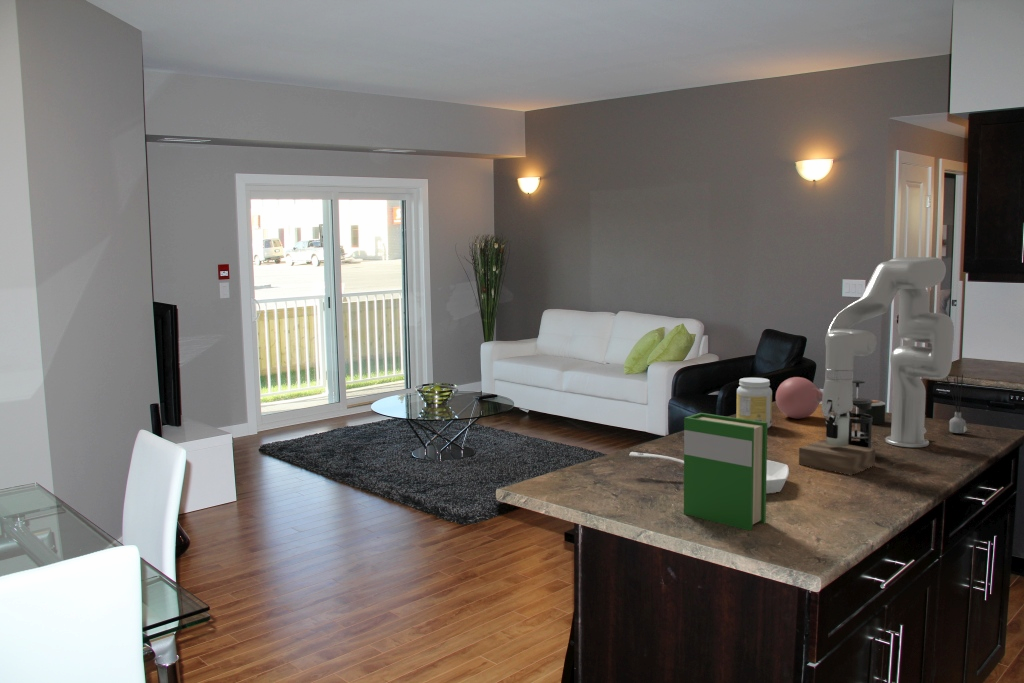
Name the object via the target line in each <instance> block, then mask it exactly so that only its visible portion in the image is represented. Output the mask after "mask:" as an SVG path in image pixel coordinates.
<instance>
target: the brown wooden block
mask: <svg viewBox="0 0 1024 683" xmlns="http://www.w3.org/2000/svg"><path fill="white" fill-rule="evenodd" d="M799 464H801V465H800V466H803V465H806V466H805V467H808V466H811V467H810V468H813V467H815V468H814V469H818V468H820V469H819V470H823V469H825V470H824V471H827V470H830V471H829V472H832V471H836V472H835V473H837V472H841V473H840V474H842V473H845V474H844V475H846V474H850V475H849V476H853V475H852V474H854V475H856V474H859V473H861V472H863V471H862V470H864V471H865V469H866V470H868V469H871V468H873V467H875V464H876V449H875V448H872V447H871V448H866V447H860V446H855V445H849V444H848V446H844V447H836V446H830V445H827V444H826V439H822V440H819V441H816V442H813V443H809V444H807V445H803V446H801V447H799V448H798V465H799ZM872 466H873V467H872ZM870 467H871V468H870ZM867 468H868V469H867ZM860 471H861V472H860ZM858 472H859V473H858ZM855 473H856V474H855Z"/></svg>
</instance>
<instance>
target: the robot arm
mask: <svg viewBox="0 0 1024 683" xmlns="http://www.w3.org/2000/svg"><path fill="white" fill-rule="evenodd" d="M946 272H947V267H946V264H945V262H944V261H943V259H941V258H939V257H933V256H932V257H931V256H930V257H929V256H928V257H926V256H922V257H921V256H899V257H894V258H892V259H889V260H887V261H883V262H880V263H879V264H877V266H876V267H875V268H874V271H873V273H872V275H871V277H870V278H869V281H868V282H867V284H866V285H865V289H864V290H863V292H862V294H861V296H860V298H858V299H857V300H855V301H854V302H852V303H850V304H849V305H847V306H846V307H844V308H843V309H842V310H841V311H839V312H838V313H837V314H836V315H835V316H834V318H833V320H832V321H831V323H830V325H829V327H828V329H827V332H826V335H825V338H824V339H825V340H824V342H825V343H824V345H825V373H824V374H825V375H824V378H825V379H824V384H823V389H822V390H823V391H822V392H823V397H822V401H821V413H822V416H823V417H824V421H825V424H826V426H825V427H826V428H825V431H826V432H825V436H826V437H829V438H834V439H836V438H838V425H836V424H837V419H838V415H841V416H847V417H849V421H850V419H851V417H850V414H851V413H852V410H853V409H854V407H853V406H854V405H853V398H854V390H853V383H852V381H853V380H854V363H855V360H854V359H855V356H856V357H859V356H860V357H867V356H869V355H871V354H873V353H874V352H875V351H876V349H877V347H878V340H877V339H878V338H877V337H876V335H875V334H874V333H872V332H871V331H868V330H865V329H854V328H853V329H852V327H853V326H855V325H857V324H859V323H861V322H864V321H866V320H870V319H873V318H876V317H878V316H881V315H884V314H885V313H887V312H888V311H889V309H890V307H891V306H892V303H893V301H894V299H895V297H896V295H897V293H898V296H899V297H898V298H899V306H898V307H899V308H898V322H897V332H898V336H899V338H900V339H901V340H903V341H905V342H913V343H923V344H924V343H925V344H931V347H928V346H927V347H925V346H918V345H916V346H915V345H900V346H898V347H896V348H894V350H892V352H891V354H890V356H889V357H890V360H889V361H890V362H889V363H890V367H891V368H890V369H891V375H892V398H891V400H892V402H891V424H890V425H891V426H890V427H891V429H890V430H891V431H890V435H888V436H886V437H885V443H887V444H889V445H892V446H896V447H902V448H924V447H925V448H926V447H928V446H929V444H930V441H929V440H928V439H927V438H925V434H926V433H927V429H926V427H925V419H926V418H925V416H926V415H925V413H926V397H927V396H926V394H927V392H926V387H925V384H924V382H923V381H922V379H921V378H925V379H935V380H942V379H945V378H946V376H947V377H948V376H949V374H950V372H951V369H952V363H953V353H954V352H953V351H954V337H955V326H954V322H953V320H952V318H951V316H949V315H947V314H945V313H940V312H930V294H929V292H928V290H927V288H931V287H935V286H938V285H939V284H941V283H942V282H943V281H944V279H945V276H946V274H947V273H946ZM831 416H834V420H833V418H832V417H831Z"/></svg>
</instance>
